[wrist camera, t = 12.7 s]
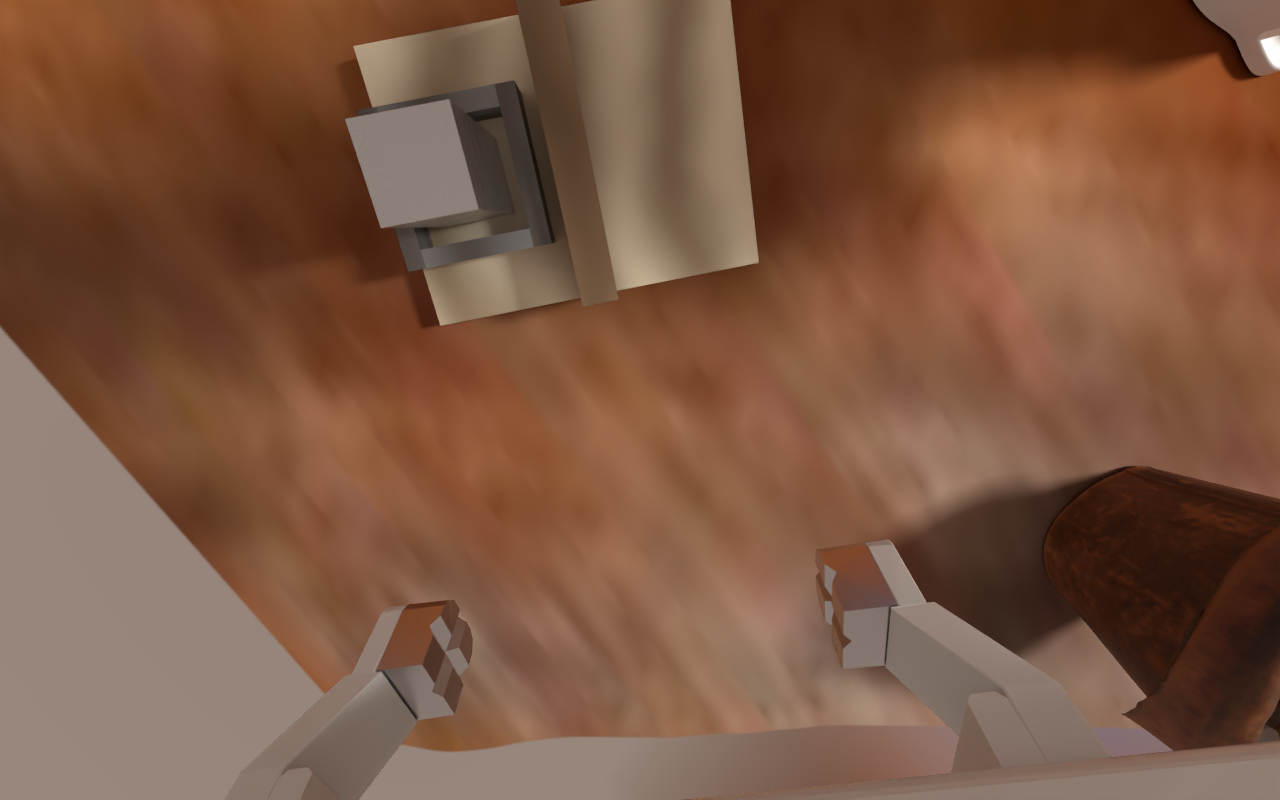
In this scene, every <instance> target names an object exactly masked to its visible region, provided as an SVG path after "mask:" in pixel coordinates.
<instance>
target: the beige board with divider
mask: <svg viewBox="0 0 1280 800" xmlns="http://www.w3.org/2000/svg"><path fill="white" fill-rule="evenodd" d="M515 2H516V7H517V11H518V15H514V16H509V17H503V18H498V19H493V20H488V21H482V22H477V23H472V24H467V25H461V26H456V27H451V28H446V29H440V30H435V31H430V32H425V33H419V34H414V35H409V36H404V37H399V38H393V39H388V40H383V41H378V42H372V43H367V44H362V45H357V46H353V47H354V50H355V54H356V57H357V60H358V63H359V66H360V70H361V73H362V76H363V79H364V82H365V86H366V89H367V92H368V95H369V98H370V102H371V105H372V108H367V109H362V110H357V114H358V116H363V115H369V114H374V113H379V112H384V111H389V110H395V109H400V108H405V107H410V106H415V105H421V104H426V103H431V102H436V101H441V100H447V99H450V100H451V101H452V102H453V103H455V104H456V105H457V106H458V107H459V108H460V109H462V110H463V111H464V112H465V113H466V114H468V115H469V116H470V117H471V118H472V119H474V120H475V121H476V122H477V123H478V124H480V125H481V126H482V127H483V128H484V129H485V130H487V131H488V132H489V133H490V134H491V135H493V136H494V137H495V138H496V139H497V143H498V147H499V151H500V155H501V159H502V163H503V167H504V171H505V175H506V179H507V183H508V187H509V191H510V195H511V199H512V203H513V207H514V211H515V214H510V215H505V216H500V217H495V218H490V219H485V220H480V221H475V222H469V223H464V224H459V225H454V226H449V227H417V228H394V229H395V232H396V235H397V238H398V241H399V244H400V247H401V251H402V254H403V257H404V260H405V263H406V266H407V269H408V272H410V271H415V270H420V269H423V271H424V274H425V278H426V281H427V284H428V287H429V290H430V294H431V297H432V300H433V303H434V306H435V310H436V313H437V316H438V319H439V322H440V326H442V325H447V324H452V323H457V322H462V321H467V320H472V319H477V318H482V317H487V316H492V315H497V314H502V313H507V312H512V311H517V310H522V309H527V308H533V307H538V306H543V305H548V304H553V303H558V302H563V301H568V300H573V299H578V298H581V301H582V306H583V307H585V306H590V305H595V304H600V303H605V302H610V301H615V300H619V299H618V294H617V291H618V290H623V289H628V288H633V287H638V286H644V285H649V284H654V283H659V282H664V281H669V280H674V279H679V278H684V277H689V276H694V275H699V274H704V273H709V272H714V271H719V270H724V269H729V268H734V267H739V266H744V265H749V264H755V263H759V259H758V250H757V241H756V232H755V222H754V213H753V204H752V195H751V186H750V176H749V167H748V158H747V149H746V139H745V130H744V121H743V112H742V103H741V93H740V84H739V75H738V66H737V56H736V47H735V38H734V29H733V19H732V10H731V1H730V0H593V1H587V2H582V3H577V4H572V5H566V6H561V5H560V0H515Z"/></svg>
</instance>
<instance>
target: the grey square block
mask: <svg viewBox="0 0 1280 800" xmlns="http://www.w3.org/2000/svg"><path fill="white" fill-rule="evenodd" d="M345 121H346V124H347V127H348V130H349V133H350V136H351V139H352V142H353V145H354V148H355V151H356V154H357V157H358V160H359V163H360V166H361V169H362V172H363V175H364V178H365V181H366V184H367V187H368V191H369V194H370V197H371V200H372V203H373V206H374V209H375V212H376V215H377V218H378V221H379V224H380V227H381V228H417V227H449V226H454V225H459V224H464V223H469V222H475V221H480V220H485V219H490V218H495V217H500V216H505V215H510V214H515V211H514V207H513V203H512V199H511V195H510V191H509V187H508V183H507V179H506V175H505V171H504V167H503V163H502V159H501V155H500V151H499V147H498V143H497V139H496V138H495V137H494V136H493V135H491V134H490V133H489V132H488V131H487V130H485V129H484V128H483V127H482V126H481V125H480V124H478V123H477V122H476V121H475V120H474V119H472V118H471V117H470V116H469V115H468V114H466V113H465V112H464V111H463V110H462V109H460V108H459V107H458V106H457V105H456V104H455V103H453V102H452V101H451V100H450V99H447V100H441V101H436V102H431V103H426V104H421V105H415V106H410V107H405V108H400V109H395V110H389V111H384V112H379V113H374V114H369V115H363V116H358V117H353V118H348V119H345Z"/></svg>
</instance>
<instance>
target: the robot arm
mask: <svg viewBox="0 0 1280 800" xmlns="http://www.w3.org/2000/svg"><path fill="white" fill-rule="evenodd" d="M1193 1H1194V3H1195V4H1196V6H1197V7H1198V8H1199V9H1200V11H1201V12H1202V13H1203V14H1204V15H1205V16H1206V17H1207V18H1208V19H1210V20H1211V21H1212V22H1213V23H1215V24H1216V25H1218V26H1219V27H1221V28H1222V29H1223V30H1225V31H1226V32H1228V33H1229V34H1230V35H1231V36H1232V37H1233V38H1234V39H1235V40H1236V43H1237V45H1238V48H1239V50H1240V52H1241V55H1242V57H1243V59H1244V61H1245V63H1246V65H1247V67H1248V68H1249V70H1250V71H1251V72H1252V73H1253V74H1255V75H1257V76H1265V75H1269V74H1272V73H1275V72H1278V71H1280V0H1193ZM815 562H816V565H817V567H818V570H819V573H818V574H817V575H816V588H817V593H818V599H819V603H820V606H821V610H822V613H823V616H824V619H825V621H826V622H827V623H829V624H830V625H831V626H832V641H833V644H834V646H835V649H836V652H837V655H838V657H839V660H840V663H841V665H842V668H843V669H851V668H863V667H874V666H885V665H886V668H887V669H888V670H889V671H890V672H891V673H892V674H893V675H894V676H895V677H896V678H897V679H898V680H899V681H900V682H902V683H903V684H904V685H905V686H906V687H907V688H908V689H909V690H910V691H911V692H912V693H913V694H914V695H916V696H917V697H918V698H919V699H920V700H921V701H922V702H923V703H924V704H925V705H926V706H927V707H928V708H929V709H931V710H932V711H933V712H934V713H935V714H936V715H937V716H938V717H939V718H940V719H941V720H942V721H943V722H945V723H946V724H947V725H948V726H949V727H950V728H951V729H952V730H953V731H954V732H955V733H956V734H958V736H959V741H958V745H957V749H956V753H955V758H954V762H953V766H952V770H951V773H948V774H938V775H928V776H918V777H908V778H898V779H888V780H879V781H868V782H858V783H849V784H838V785H828V786H817V787H808V788H798V789H787V790H777V791H767V792H757V793H746V794H737V795H727V796H716V797H706V798H696V799H685V800H1280V741H1270V742H1260V743H1250V744H1240V745H1230V746H1220V747H1209V748H1199V749H1189V750H1179V751H1169V752H1159V753H1149V754H1139V755H1129V756H1120V757H1112V756H1111V755H1110V753H1109V752H1108V750H1107V749H1106V748H1105V746H1104V745H1103V744H1102V742H1101V741H1100V739H1099V738H1098V736H1097V735H1096V734H1095V732H1094V731H1093V729H1092V728H1091V727H1090V725H1089V724H1088V722H1087V721H1086V720H1085V718H1084V717H1083V715H1082V714H1081V713H1080V711H1079V710H1078V708H1077V707H1076V706H1075V704H1074V703H1073V701H1072V700H1071V699H1070V697H1069V696H1068V694H1067V693H1066V692H1065V690H1064V689H1063V687H1062V686H1061V685H1060V683H1059V682H1057V681H1056V680H1054V679H1053V678H1051V677H1050V676H1048V675H1047V674H1045V673H1044V672H1042V671H1040V670H1039V669H1037V668H1036V667H1034V666H1033V665H1031V664H1030V663H1028V662H1027V661H1025V660H1023V659H1022V658H1020V657H1019V656H1017V655H1016V654H1014V653H1013V652H1011V651H1010V650H1008V649H1006V648H1005V647H1003V646H1002V645H1000V644H999V643H997V642H996V641H994V640H992V639H991V638H989V637H988V636H986V635H985V634H983V633H982V632H980V631H979V630H977V629H975V628H974V627H972V626H971V625H969V624H968V623H966V622H965V621H963V620H962V619H960V618H958V617H957V616H955V615H954V614H952V613H951V612H949V611H948V610H946V609H945V608H943V607H941V606H940V605H938V604H937V603H935V602H928V603H927V602H926V600H925V599H924V597H923V595H922V593H921V592H920V590H919V588H918V587H917V585H916V583H915V581H914V580H913V578H912V576H911V574H910V573H909V571H908V569H907V567H906V566H905V564H904V562H903V560H902V559H901V557H900V555H899V554H898V552H897V550H896V548H895V547H894V545H893V543H892V542H891V541H889V540H880V541H873V542H866V543H857V544H850V545H843V546H837V547H830V548H823V549H817V550H816V553H815ZM459 611H460V609H459V607H458V606H457V604H456V602H455V601H454V600H446V601H436V602H427V603H418V604H409V605H402V606H393V607H387V608H386V609H385V610H384V611H383V612H382V613H381V615H380V617H379V619H378V621H377V623H376V625H375V627H374V629H373V632H372V634H371V636H370V638H369V640H368V642H367V644H366V646H365V648H364V650H363V652H362V654H361V656H360V658H359V660H358V662H357V664H356V667H355V669H354V671H353V673H352V675H347V676H344V677H343V678H342V679H341V680H340V681H339V682H338V683H337V684H336V685H335V686H334V687H332V688H331V689H330V690H329V691H328V692H327V693H326V694H325V695H324V696H323V697H322V698H321V699H320V700H318V701H317V702H316V703H315V704H314V705H313V706H312V707H311V708H310V709H309V710H308V711H306V712H305V713H304V714H303V715H302V716H301V717H300V718H299V719H298V720H297V721H296V722H295V723H294V724H292V725H291V726H290V727H289V728H288V729H287V730H286V731H285V732H284V733H283V734H282V735H280V736H279V737H278V738H277V739H276V740H275V741H274V742H273V743H272V744H271V745H270V746H269V747H268V748H266V749H265V750H264V751H263V752H262V753H261V754H260V755H259V756H258V757H257V758H256V759H254V760H253V761H252V762H251V763H250V764H249V765H248V766H247V767H246V768H245V769H244V770H243V771H241V773H240V774H239V776H238V777H237V779H236V781H235V783H234V784H233V786H232V788H231V790H230V791H229V793H228V795H227V796H226V798H225V800H359V799H360V797H361V796H362V795H363V793H364V792H365V791H366V790H367V788H368V787H369V786H370V784H371V783H372V782H373V780H374V779H375V778H376V776H377V775H378V774H379V772H380V771H381V770H382V768H383V767H384V766H385V764H386V763H387V762H388V761H389V759H390V758H391V757H392V755H393V754H394V753H395V751H396V750H397V749H398V748H399V746H400V745H401V744H402V742H403V741H404V740H405V738H406V737H407V736H408V734H409V733H410V732H411V731H412V729H413V728H414V727H415V725H416V724H417V720H421V719H428V718H435V717H442V716H448V715H455V711H456V708H457V704H458V701H459V698H460V694H461V691H462V687H463V683H462V681H461V678H460V674H461V673H462V672H463V671H464V670H465V669H466V668H467V667H468V666H469V663H470V659H471V655H472V642H473V638H472V634H471V630H470V628H469V626H468V624H467V622H465V621H464V620H462V619H460V618H458V614H459Z"/></svg>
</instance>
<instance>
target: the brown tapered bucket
mask: <svg viewBox="0 0 1280 800" xmlns="http://www.w3.org/2000/svg"><path fill="white" fill-rule="evenodd" d="M1043 557H1044V563H1045V567H1046V570H1047V573H1048V576H1049V578H1050V580H1051V582H1052V583H1053V585H1054V586H1055V588H1056V589H1057V590H1058V592H1059V593H1060V594H1061V595H1062V596H1063V597H1064V598H1065V599H1066V600H1067V601H1068V602H1069V603H1070V604H1071V605H1072V607H1073V608H1074V609H1075V610H1076V611H1077V613H1078V614H1079V615H1080V616H1081V618H1082V619H1083V620H1084V621H1085V622H1086V624H1087V625H1088V626H1089V627H1090V628H1091V630H1092V631H1093V632H1094V633H1095V634H1096V636H1097V637H1098V638H1099V639H1100V641H1101V642H1102V643H1103V644H1104V645H1105V647H1106V648H1107V649H1108V650H1109V651H1110V653H1111V654H1112V655H1113V656H1114V658H1115V659H1116V660H1117V661H1118V662H1119V664H1120V665H1121V666H1122V667H1123V669H1124V670H1125V671H1126V672H1127V674H1128V675H1129V676H1130V677H1131V678H1132V679H1133V681H1134V682H1135V683H1136V684H1137V685H1138V686H1139V688H1140V689H1141V690H1142V691H1143V692H1144V694H1145V695H1146V696H1147V698H1145V699H1144V700H1143V701H1140V702H1138V703H1137V706H1136V707H1135V708H1134V709H1132V710H1130V711H1129V712H1127V713H1126V714H1122V715H1125V716H1126V717H1128V718H1130V719H1131V720H1132V721H1134V722H1135V723H1137V724H1138V725H1140V726H1141V727H1142V728H1144V729H1145V730H1147V731H1148V732H1150V733H1151V734H1152V735H1153V736H1155V737H1156V738H1157V739H1159V740H1160V741H1162V742H1163V743H1164V744H1165V745H1167V746H1168V747H1169V748H1171V749H1172V750H1173V751H1179V750H1189V749H1199V748H1209V747H1220V746H1230V745H1240V744H1250V743H1260V742H1270V741H1280V499H1278V498H1273V497H1269V496H1265V495H1260V494H1256V493H1252V492H1248V491H1244V490H1240V489H1236V488H1232V487H1227V486H1223V485H1219V484H1215V483H1211V482H1207V481H1203V480H1198V479H1194V478H1190V477H1186V476H1182V475H1178V474H1174V473H1171V472H1167V471H1162V470H1156V469H1154V468H1151V467H1132V468H1128V469H1125V470H1123V471H1121V472H1119V473H1116V474H1114V475H1111V476H1109V477H1107V478H1105V479H1103V480H1101V481H1099V482H1097V483H1095V484H1094V485H1092V486H1091V487H1089V488H1088V489H1086V490H1085V491H1084V492H1082V493H1081V494H1080V495H1079V496H1077V497H1076V498H1075V499H1074V500H1073V501H1072V502H1070V503H1069V504H1068V505H1067V506H1066V507H1065V508H1064V509H1063V510H1062V512H1061V513H1060V514H1059V515H1058V516H1057V518H1056V519H1055V521H1054V522H1053V524H1052V526H1051V527H1050V529H1049V531H1048V534H1047V536H1046V539H1045V543H1044V549H1043Z"/></svg>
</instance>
